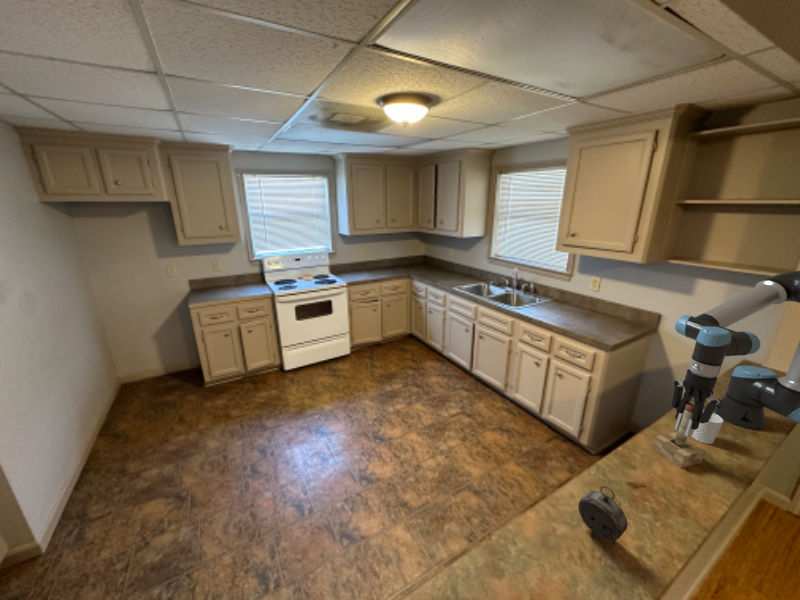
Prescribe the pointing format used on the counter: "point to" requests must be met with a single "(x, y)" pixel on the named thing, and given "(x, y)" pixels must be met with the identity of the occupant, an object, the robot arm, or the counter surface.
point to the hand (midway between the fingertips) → (683, 431)
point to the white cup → (708, 430)
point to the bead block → (678, 450)
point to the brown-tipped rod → (684, 424)
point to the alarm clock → (603, 515)
